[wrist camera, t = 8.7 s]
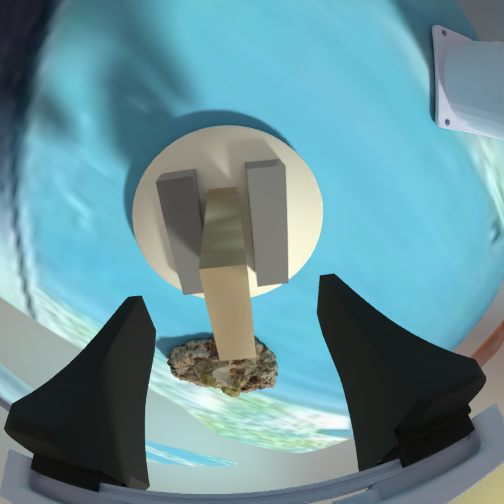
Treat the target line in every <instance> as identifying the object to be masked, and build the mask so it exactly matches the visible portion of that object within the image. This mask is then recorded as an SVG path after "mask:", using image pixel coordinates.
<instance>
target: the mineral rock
mask: <svg viewBox="0 0 504 504" xmlns="http://www.w3.org/2000/svg"><path fill="white" fill-rule="evenodd" d="M254 340H255V350H256V358H247V359H237V360H226V361H220V358H219V354H218V350H217V347H216V343H215V339H214V338H212V339H202V340H191V341H189V342H187V343H186V345H185V346H183V347H182V346H179V347H175V348H174V350H173V351H172V353H170V354H169V355H168V357H167V358H168V359H169V360H168V362H167V364H168V365H169V366H170V368H171V373H172V374H173V375H174V376H175V377H177V378H179V379H180V380H186V381H189V382H190V383H191V382H193V383H194V384H196V385H199V386H204V387H214V388H221V390H222V391H223V393H225V394H227V395H229V396H231V397H235V396H239V395H240V393H241V392H246V393H247V392H249V391H252V390H256V389H264V388H266V387H267V388H270V387H271V388H273V387H274V386H275V381H276V380H275V377H276V376H277V375H278V374H277V363H276V360H275V359H276V356H275V355H274V353H273V352H271V351H269V348H267V347H265V346H264V345H262V344H261V343H259V342H258V340H257V339H255V338H254Z"/></svg>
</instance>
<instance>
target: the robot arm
mask: <svg viewBox="0 0 504 504" xmlns="http://www.w3.org/2000/svg"><path fill="white" fill-rule="evenodd" d="M442 31H443V33H444V35H443V33H442ZM432 36H433V46H434V59H435V82H436V110H435V123H436V125H437V126H438V127H441V128H446V129H452V130H458V131H463V132H469V133H474V134H479V135H483V136H488V137H492V138H496V139H500V140H504V42H493V41H474V40H472V39H470V38H468V37H466V36H463V35H461V34H459V33H457V32H454V31H452V30H449V29H447V28H445V27H442V26H439V25H434V26H432ZM445 120H446V121H447V122H446V124H445ZM317 316H318V319H319V323H320V327H321V331H322V334H323V337H324V339H325V342H326V344H327V347H328V349H329V352H330V354H331V357H332V359H333V362H334V364H335V367H336V369H337V372H338V374H339V377H340V380H341V383H342V386H343V389H344V393H345V397H346V401H347V405H348V410H349V414H350V419H351V423H352V429H353V434H354V439H355V446H356V453H357V460H358V469H359V472H358V473H354V474H351V475H347V476H343V477H340V478H336V479H332V480H328V481H323V482H319V483H314V484H309V485H304V486H298V487H292V488H286V489H279V490H271V491H263V492H252V493H237V494H180V493H165V492H155V491H147V490H146V489H147V488H148V487H149V486H150V485H149V479H148V471H147V463H146V450H145V404H146V395H147V389H148V384H149V379H150V373H151V368H152V363H153V357H154V352H155V338H156V329H155V327H154V325H153V322H152V320H151V318H150V315H149V313H148V310H147V308H146V305H145V303H144V300H143V298H142V296H131V297H128V298H127V299H126V300H125V301H124V302H123V303H122V305H121V306H120V307H119V308H118V309H117V311H116V312H115V313H114V314H113V315H112V317H111V318H110V319H109V320H108V322H107V323H106V324H105V325H104V326H103V328H102V329H101V330H100V331H99V332H98V334H97V335H96V336H95V337H94V338H93V339H92V340H91V341H90V343H89V344H88V345H87V346H86V347H85V348H84V349H83V350H82V351H81V352H80V353H79V355H78V356H76V357H75V358H74V359H73V360H72V361H71V362H70V363H69V364H68V365H67V366H66V367H65V368H63V369H62V370H61V371H60V372H59V373H57V374H56V375H55V376H54V377H53V378H51V379H50V380H49V381H48V382H46V383H45V384H43V385H42V386H41V387H39V388H38V389H36V390H35V391H33V392H32V393H30V394H28V395H27V396H25V397H23V398H21V399H20V400H18V401H16V402H14V403H12V405H11V408H10V411H9V415H8V417H7V420H6V424H5V427H4V429H5V432H6V433H7V434H8V435H9V436H10V437H11V438H12V439H14V440H15V441H16V442H18V443H19V444H20V445H22V446H23V447H25V448H26V449H27V450H29V451H31V452H32V453H34V455H33V459H32V458H30V457H27V456H25V455H23V454H21V453H18V452H16V451H14V450H12V449H9V451H8V455H7V460H6V464H5V469H4V474H3V479H2V485H1V491H0V495H1V497H3V498H5V499H6V500H8V501H9V502H11V503H13V504H308V503H313V502H318V501H323V500H327V499H331V498H335V497H339V496H343V495H346V494H350V493H354V492H357V491H360V490H363V489H366V488H368V489H367V490H366V491H365V492H362V493H359V494H356V495H353V496H351V497H347V498H345V499H342V500H338V501H334V502H332V504H448V503H450V502H451V501H453V500H454V499H456V498H457V497H459V496H460V495H462V494H463V493H465V492H466V491H467V490H469V489H470V488H472V487H473V486H474V485H475V484H477V483H478V482H479V481H481V480H482V479H483V478H485V477H486V476H487V475H488V474H490V473H491V472H492V471H493V470H495V469H496V468H497V467H498V466H500V465H501V464H502V463H503V462H504V418H503V416H502V414H501V412H500V410H499V408H498V406H497V404H493V405H492V406H490V407H489V408H487V409H486V410H484V411H483V412H481V413H479V414H478V415H477V416H475V417H474V418H472V419H470V417H469V415H468V414H469V413H470V412H471V409H470V406H469V405H468V404H469V402H470V401H471V400H472V399H473V398H474V397H475V396H476V395H477V394H478V393H479V391H480V390H481V389H482V388H483V386H484V384H485V382H486V376H485V374H484V373H483V371H482V370H481V368H480V366H479V365H478V363H477V362H476V360H475V359H472V358H469V357H466V356H462V355H459V354H456V353H453V352H450V351H448V350H446V349H443V348H441V347H438V346H436V345H434V344H432V343H429V342H427V341H426V340H424V339H422V338H420V337H418V336H416V335H414V334H412V333H411V332H409V331H407V330H406V329H404V328H402V327H401V326H399V325H398V324H396V323H394V322H393V321H392V320H390V319H389V318H387V317H386V316H385V315H383V314H382V313H380V312H379V311H378V310H376V309H375V308H374V307H373V306H371V305H370V304H369V303H368V302H366V301H365V300H364V299H363V298H362V297H360V296H359V295H358V294H357V293H356V292H355V291H354V290H352V289H351V288H350V287H349V286H348V285H347V284H346V283H344V282H343V281H342V280H341V279H340V278H339V277H338V276H337V275H335V274H328V275H320V281H319V293H318V305H317Z"/></svg>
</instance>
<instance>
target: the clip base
mask: <svg viewBox="0 0 504 504" xmlns="http://www.w3.org/2000/svg"><path fill="white" fill-rule="evenodd" d="M235 186H236V187H237V194H238V202H239V209H240V216H241V224H242V231H243V238H244V245H245V253H246V260H247V268H248V279H249V289H250V298H251V297H254V296H258V295H261V294H264V293H266V292H269V291H271V290H273V289H275V288H276V287H278V286H280V285H282V284H284V283H288V280H289V279H290V278H291V277H292V276H293V275H295V274H296V273H297V272H298V271H299V270H300V269H301V268H302V266H303V265H304V264H305V263H306V261H307V260H308V259H309V257H310V256H311V254H312V252H313V250H314V248H315V246H316V244H317V241H318V239H319V236H320V232H321V228H322V220H323V204H322V198H321V193H320V190H319V187H318V184H317V181H316V179H315V177H314V175H313V173H312V171H311V170H310V168H309V167H308V166H307V164H306V163H305V161H304V160H303V159H302V158H301V157H300V156H299V155H298V154H297V153H296V152H295V151H294V150H293V149H292V148H291V147H289V146H288V145H287V144H285V143H284V142H283V141H281V140H280V139H278V138H276V137H274V136H273V135H271V134H269V133H266V132H264V131H261V130H258V129H255V128H251V127H247V126H240V125H216V126H210V127H205V128H201V129H198V130H196V131H193V132H190V133H188V134H186V135H184V136H182V137H180V138H178V139H177V140H175V141H174V142H172V143H171V144H170V145H168V146H167V147H166V148H165V149H164V150H163V151H162V152H161V153H160V154H159V155H158V156H156V157H155V158H154V160H153V161H152V162H151V163H150V165H149V166H148V167H147V169H146V170H145V172H144V174H143V176H142V177H141V179H140V181H139V184H138V187H137V189H136V192H135V196H134V201H133V210H132V220H133V229H134V233H135V238H136V240H137V243H138V246H139V248H140V250H141V252H142V254H143V256H144V258H145V259H146V260H147V262H148V263H149V265H150V266H151V267H152V268H153V269H154V270H155V271H156V272H157V274H158V275H160V276H161V277H162V278H163V279H164V280H166V281H167V282H168V283H170V284H171V285H173V286H174V287H176V288H178V289H180V290H182V291H183V295H188V294H192V295H194V296H198V297H202V298H205V296H204V292H203V287H202V283H201V278H200V273H199V262H200V253H201V245H202V236H203V228H204V220H205V213H206V205H207V198H208V191H209V189H217V188H226V187H235Z"/></svg>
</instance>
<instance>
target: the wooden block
mask: <svg viewBox="0 0 504 504" xmlns="http://www.w3.org/2000/svg"><path fill="white" fill-rule="evenodd" d="M199 273H200V278H201V283H202V287H203V292H204V296H205V301H206V305H207V309H208V314H209V318H210V322H211V326H212V330H213V334H214V339H215V343H216V347H217V350H218V354H219V358H220V361H226V360H237V359H247V358H256V350H255V340H254V330H253V320H252V309H251V299H250V289H249V279H248V268H247V260H246V253H245V245H244V238H243V231H242V224H241V216H240V209H239V202H238V194H237V187H236V186H235V187H226V188H217V189H209V191H208V198H207V205H206V213H205V220H204V228H203V236H202V245H201V253H200V262H199Z"/></svg>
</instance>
